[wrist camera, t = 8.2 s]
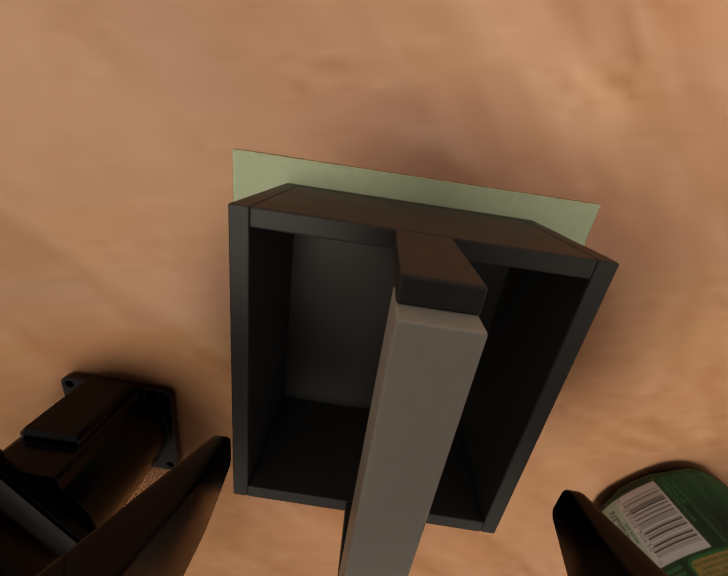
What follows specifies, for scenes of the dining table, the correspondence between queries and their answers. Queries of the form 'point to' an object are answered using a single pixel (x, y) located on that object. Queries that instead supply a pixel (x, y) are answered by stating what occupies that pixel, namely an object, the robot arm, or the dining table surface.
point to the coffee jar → (676, 520)
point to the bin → (397, 358)
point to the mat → (410, 191)
